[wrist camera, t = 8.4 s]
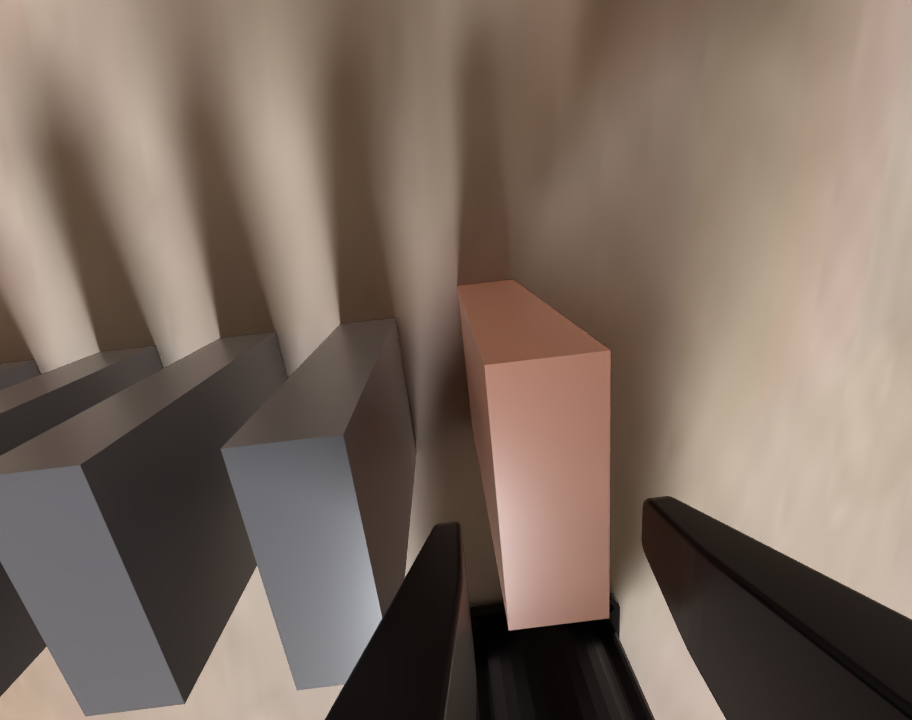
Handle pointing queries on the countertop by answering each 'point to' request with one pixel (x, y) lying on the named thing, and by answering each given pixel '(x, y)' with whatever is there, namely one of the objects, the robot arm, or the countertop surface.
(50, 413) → the domino
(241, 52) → the countertop surface
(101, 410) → the domino
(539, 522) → the domino
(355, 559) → the domino
